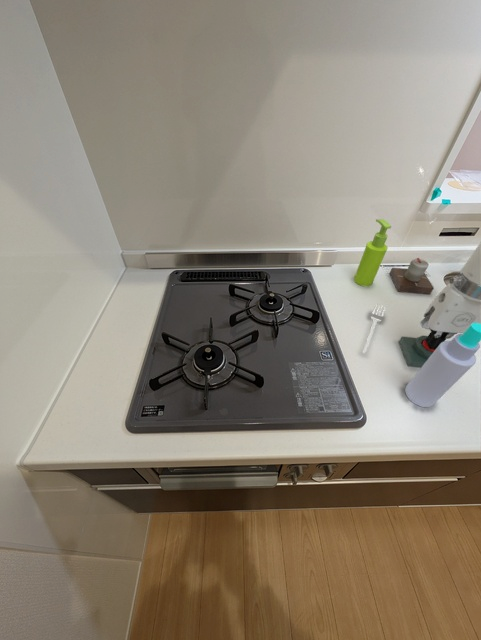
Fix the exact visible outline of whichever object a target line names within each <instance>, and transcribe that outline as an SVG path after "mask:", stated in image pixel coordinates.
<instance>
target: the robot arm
mask: <svg viewBox="0 0 481 640" xmlns="http://www.w3.org/2000/svg"><path fill="white" fill-rule="evenodd" d="M423 317H424V318H423V319H422V320H420V322H419V325H420V327H421V328H422V329H426V330H430V332H429V334H428V335H427V336H428V337H427V338H426V343H427V345H428V347H429V349H434V350H436V348H437V347H438V346H439V345H440V344H441V343H442V342H444V341H447V340H449V339H452V337H454V336H456V335H458V334H463V333H464V332H465V331H466V330H467V329H468V328H469V327H470V325H471V324H472V323H479V324H481V241H480V243H479V244H478V245H477V247H476V248H475V250H474V251H473V252H472V254H471V255H470V257H469V258H468V260H467V261H466V263H465V264H464V265H463V267H462V269H460V270H459V273H458V274H457V276H454V277H453V276H451V277H450V278H449V280H448V284H447V285H446V286H445V287H443V289H442V290H441V291H440V292H439V293H438V294H437V295H436V296H435V297H434V299H433V300H432V301H431V302H430V304H429V305H428V307H427V308H426V310H425V311H424V314H423Z"/></svg>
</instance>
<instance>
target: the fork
mask: <svg viewBox="0 0 481 640" xmlns="http://www.w3.org/2000/svg"><path fill="white" fill-rule="evenodd" d="M385 311H386V306H384V305H383V304H379V303H377V304H376V305H375V307H374V309H372V312H371V314H372V315H375V316H378V317H384V314H385ZM370 319H371V320H372V323H371V327H370V329H369V332H368V335H367V338H366V341H365V344H364V347H363V350H362V353H363V354H366V353H367V351H368V349H369V346H370V343H371V340H372V337H373V335H374V332H375V330H376V327H377V324H378V323H379V322H382V320H381V319H379V318H377V317H374V316H370Z"/></svg>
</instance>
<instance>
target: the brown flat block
mask: <svg viewBox="0 0 481 640" xmlns="http://www.w3.org/2000/svg"><path fill="white" fill-rule="evenodd" d="M407 269H408V268H402V267H401V268H399V267H391V269H390V272H389V274H388V275H389V277H390V278H391V280H392V283H393V285H394V287H395V289H396V291H397V292H398V293H410V294H422V295H431V293H432V292H433V290H434V286H433V284H432V283H431V281H430V279H429V277H428V276H427V274H426V272H425V273H424V274H423V276H422V278H421V279H420V281H418V282H413V281H410V280H408V279H406V278H405V276H404V275H405V273H406V271H407Z"/></svg>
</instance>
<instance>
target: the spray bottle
mask: <svg viewBox="0 0 481 640" xmlns="http://www.w3.org/2000/svg"><path fill="white" fill-rule="evenodd" d="M480 342H481V324H479V323H472V324H471V325H470V327H469V328H468V329H467V330H466V331H465V332H464V333H457V334H455V335H454V336H453V338H451V340H445V341H444V342H442V343H441V344H440V345H439V346H438V347H437V348H436V350H435V351H434V352H433V353H432V355H431V356H430V357H429V358H428V360H427V361H426V362H425V363H424V365H423V366H422V367H421V368H419V369H418V370H417V372H416V373H415V375H414V376H413V377H412V378H411V379H410V380H409V382H408V383H407V385H405V390H404V391H405V395H406V397H407V398H408V400H409V401H410V402H411V403H413V404H414V405H417V406H419V407H422V408H429V407H432V406H433V405H435V404H436V403H437V402H438V401H439V400H440V399H441V398H442V397H443V396H444V395H445V394H446V393H447V392H448V391H449V390H450V389H451V388H452V387H453V386H454V385H455V384H456V383H457V382H458V381H459V380H460V379H462V377H463V376H464V375H465V374H466V373H467V372H469V370H470V369H471V368H472V367H473V366H475V364H476V362H477V356H476V355H475V354H476V353H477V352H478V351H479V349H480V348H481V347H480V346H481V345H480Z"/></svg>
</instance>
